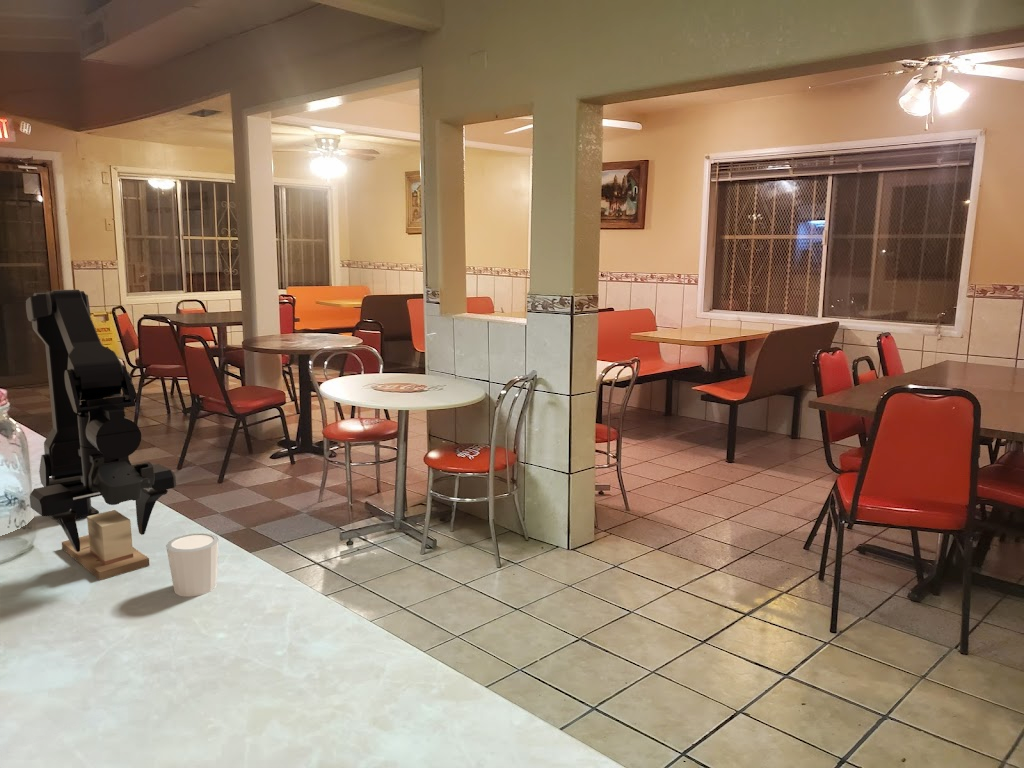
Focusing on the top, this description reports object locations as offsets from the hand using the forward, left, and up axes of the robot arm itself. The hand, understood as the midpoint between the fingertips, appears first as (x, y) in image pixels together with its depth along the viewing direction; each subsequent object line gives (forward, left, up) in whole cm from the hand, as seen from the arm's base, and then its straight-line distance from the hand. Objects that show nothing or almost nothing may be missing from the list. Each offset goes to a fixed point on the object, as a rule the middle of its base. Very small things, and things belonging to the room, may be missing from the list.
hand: (110, 542), depth 114 cm
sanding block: (0, 0, -2) cm, 2 cm away
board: (-3, 0, -3) cm, 4 cm away
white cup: (+17, +5, -4) cm, 18 cm away
